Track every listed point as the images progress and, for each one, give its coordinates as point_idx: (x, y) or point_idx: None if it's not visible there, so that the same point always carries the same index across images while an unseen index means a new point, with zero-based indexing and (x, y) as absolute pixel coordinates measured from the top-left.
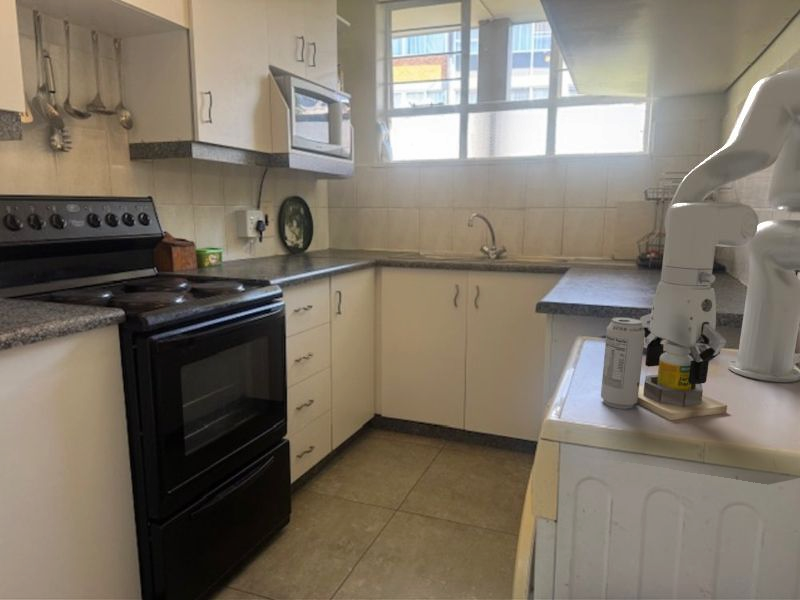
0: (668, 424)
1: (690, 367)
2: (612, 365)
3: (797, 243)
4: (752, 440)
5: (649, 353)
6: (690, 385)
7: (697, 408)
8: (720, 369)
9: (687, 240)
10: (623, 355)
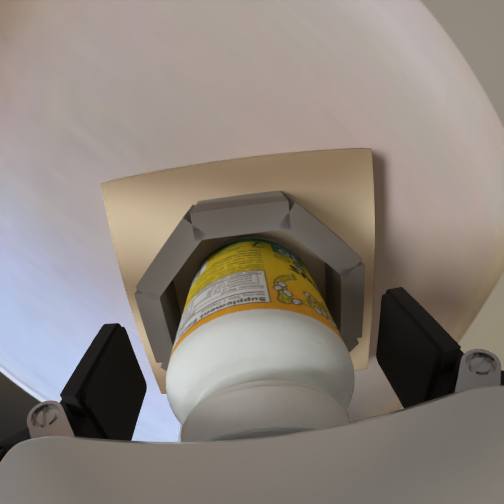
0: (375, 369)
1: (403, 404)
2: None
3: None
4: (491, 238)
5: (131, 431)
6: (314, 284)
7: (366, 277)
8: None
9: None
10: None
